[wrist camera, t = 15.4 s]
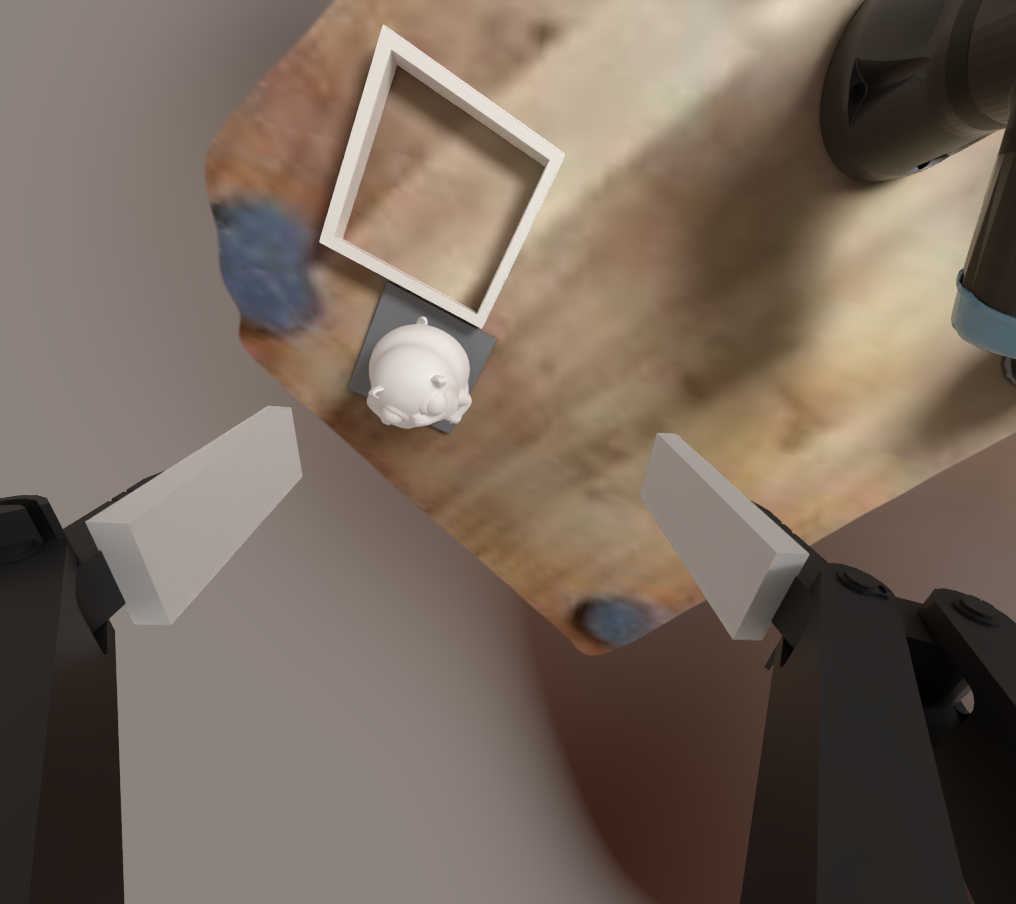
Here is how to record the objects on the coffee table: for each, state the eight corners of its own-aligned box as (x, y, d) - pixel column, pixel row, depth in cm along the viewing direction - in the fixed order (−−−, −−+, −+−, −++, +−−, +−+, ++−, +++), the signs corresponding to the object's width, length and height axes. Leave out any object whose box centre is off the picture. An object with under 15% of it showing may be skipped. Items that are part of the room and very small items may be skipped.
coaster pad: (388, 281, 38) (387, 281, 37) (496, 338, 41) (496, 339, 40) (349, 387, 42) (347, 388, 41) (449, 432, 45) (449, 433, 45)
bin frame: (389, 42, 30) (383, 24, 28) (560, 161, 35) (565, 154, 32) (328, 243, 36) (318, 242, 34) (481, 325, 40) (481, 329, 38)
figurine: (372, 314, 38) (331, 331, 28) (470, 314, 39) (467, 331, 28) (385, 408, 43) (354, 455, 32) (473, 406, 43) (471, 452, 33)
